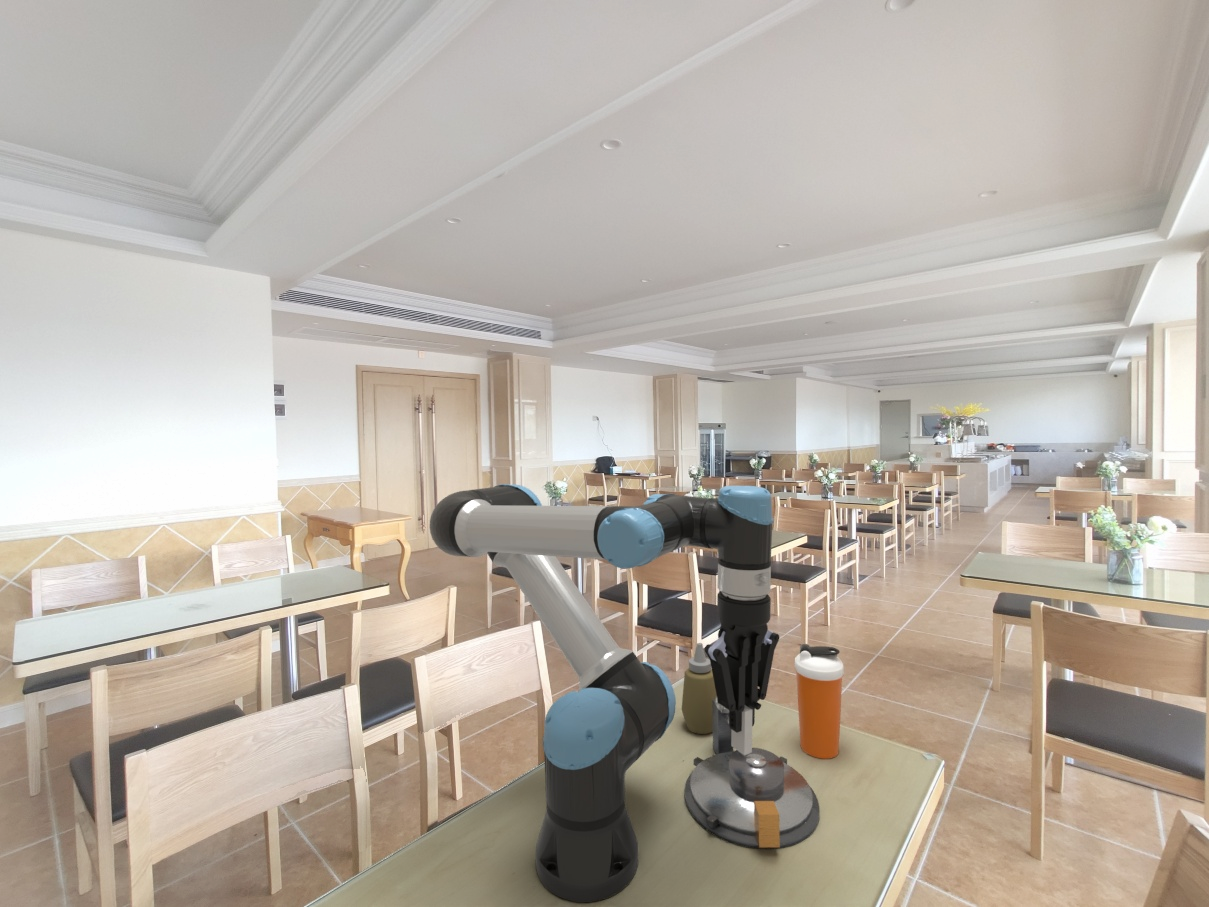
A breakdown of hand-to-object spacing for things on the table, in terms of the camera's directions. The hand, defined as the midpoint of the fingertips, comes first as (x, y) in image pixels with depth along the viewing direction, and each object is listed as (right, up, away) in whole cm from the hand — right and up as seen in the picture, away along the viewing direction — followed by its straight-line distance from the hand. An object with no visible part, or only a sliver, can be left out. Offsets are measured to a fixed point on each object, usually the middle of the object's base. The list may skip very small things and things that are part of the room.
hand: (741, 749), depth 82 cm
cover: (+6, -13, +12) cm, 19 cm away
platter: (+4, -14, +11) cm, 18 cm away
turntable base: (+4, -15, +12) cm, 20 cm away
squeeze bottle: (0, -15, +35) cm, 38 cm away
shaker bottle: (+22, -14, +27) cm, 38 cm away
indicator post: (+3, -15, +24) cm, 28 cm away
